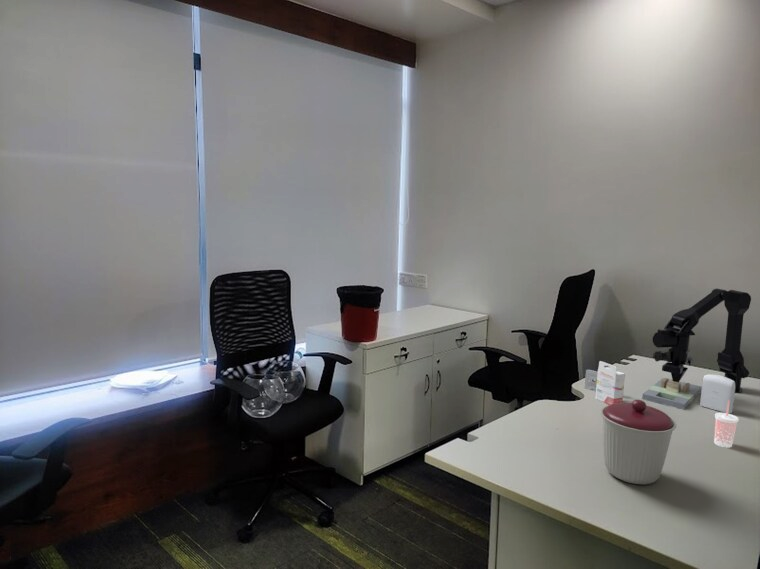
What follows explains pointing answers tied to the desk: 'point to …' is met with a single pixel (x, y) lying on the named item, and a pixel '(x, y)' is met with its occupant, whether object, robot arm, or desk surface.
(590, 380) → the cassette
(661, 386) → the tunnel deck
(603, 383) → the ink cartridge box
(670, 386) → the birch block
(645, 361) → the desk surface
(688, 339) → the robot arm
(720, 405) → the photo printer
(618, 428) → the canister
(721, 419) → the beverage cup
